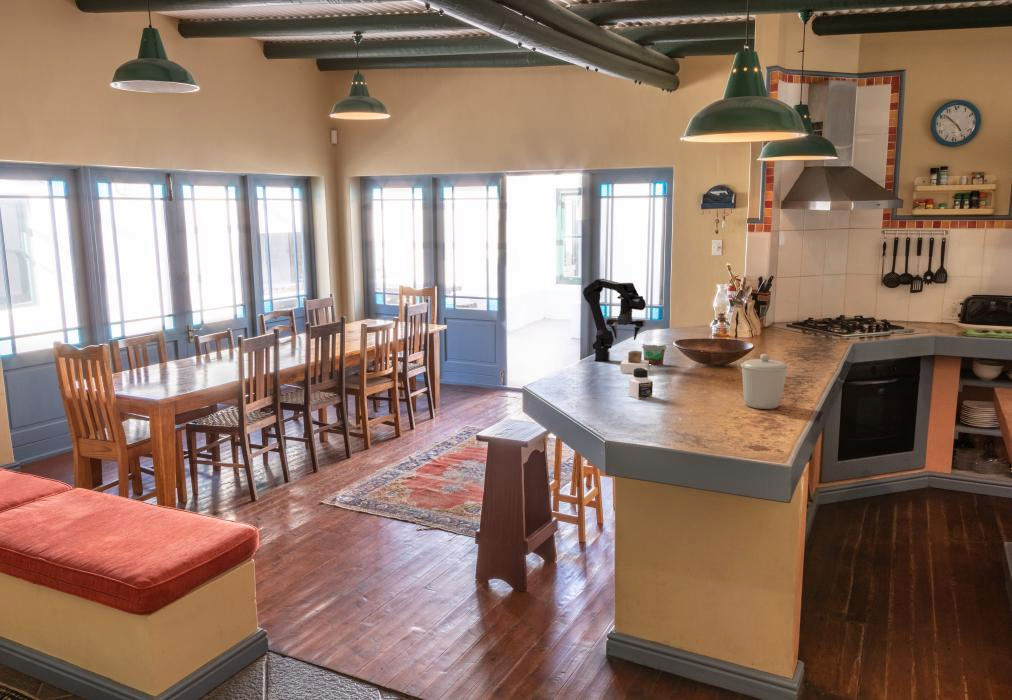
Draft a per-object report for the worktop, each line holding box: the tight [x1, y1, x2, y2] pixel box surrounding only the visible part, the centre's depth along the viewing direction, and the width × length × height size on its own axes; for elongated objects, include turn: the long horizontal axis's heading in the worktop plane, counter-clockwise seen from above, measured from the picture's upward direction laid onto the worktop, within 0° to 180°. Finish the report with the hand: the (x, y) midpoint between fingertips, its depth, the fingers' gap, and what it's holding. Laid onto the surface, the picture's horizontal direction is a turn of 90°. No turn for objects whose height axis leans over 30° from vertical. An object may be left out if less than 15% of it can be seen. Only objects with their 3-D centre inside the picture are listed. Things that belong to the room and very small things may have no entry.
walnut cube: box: [627, 350, 643, 363], centre depth 381 cm, size 5×5×5 cm
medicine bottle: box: [628, 368, 654, 400], centre depth 328 cm, size 7×7×12 cm
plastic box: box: [619, 358, 650, 374], centre depth 382 cm, size 12×12×5 cm
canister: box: [740, 353, 790, 410], centre depth 312 cm, size 18×18×21 cm
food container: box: [641, 343, 667, 366], centre depth 399 cm, size 12×6×10 cm, turn 62°
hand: (625, 339), depth 395 cm, fingers open, 9 cm apart
